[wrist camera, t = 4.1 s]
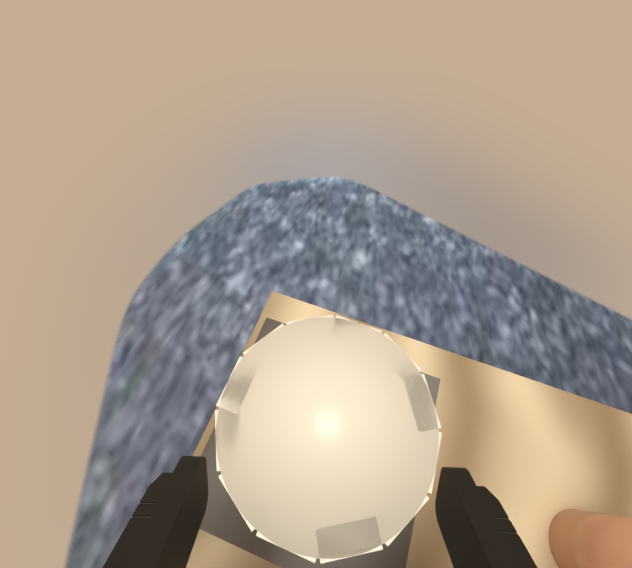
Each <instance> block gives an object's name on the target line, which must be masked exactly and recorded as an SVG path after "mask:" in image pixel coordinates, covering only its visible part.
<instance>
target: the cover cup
mask: <svg viewBox="0 0 632 568" xmlns="http://www.w3.org/2000/svg"><path fill="white" fill-rule="evenodd" d="M286 323H287V325H285V326H284V325H283V324H281V325H280V326H278V327H277V328H276V329H274V330H273V331H272V332H270V333H269V334H268V335H266V336H265V337H264V338H262V339H261V340H260V341H258V342H257V343H256V344H254V345H253V346H251V347H250V348H249V349H247V350H246V351H245V352H243V354H244V357H241V356H240V357H239V359H238V361H237V363H236V366H235V368H234V370H233V372H232V374H231V376H230V378H229V380H228V382H227V384H226V386H225V388H224V390H223V392H222V394H221V396H220V398H219V400H218V402H217V404H216V406H217V407H219V409H218V410H215V431H216V467H217V471H221V474H220V475H219V476H218V477H219V479H220V480H221V482H222V484H223V485H224V487H225V489H226V490H227V492H228V494H229V495H230V497H231V499H232V500H233V502H234V504H235V505H236V507H237V508H238V510H239V512H240V513H241V515H242V517H243V518H244V520H245V522H246V523H247V525H248V527H249V528H250V530H251V532H252V531H253V530H254V529H256V530H257V534H256V536H258V537H260V538H262V539H264V540H266V541H268V542H270V543H273V544H275V545H277V546H279V547H281V548H283V549H286V550H288V551H290V552H292V553H294V554H296V555H298V556H301V557H303V558H305V559H307V560H309V561H311V562H314V563H315V561H316V558H318V559H320V564H322V563H326V562H330V561H335V560H339V559H344V558H348V557H352V556H357V555H361V554H366V553H370V552H374V551H379V550H383V547H382V544H386V545H387V546H389V545H390V543H391V542H392V541H393V540H394V539H395V538H396V537H397V535H398V534H399V533H400V532H401V531H402V530H403V528H404V527H405V526H406V525H407V524H408V523H409V522H410V520H411V519H412V518H413V517H414V516H415V515H416V513H417V512H418V511H419V510H420V509H421V508H422V507H423V505H424V504H425V503H426V502H427V501H428V500H429V497H428V496H427V493H431V494H432V489H433V483H434V477H435V471H436V465H437V459H438V453H439V447H440V441H441V436H442V433H441V432H438V429H439V428H441V425H440V422H439V419H438V415H437V412H436V409H435V406H434V403H433V400H432V397H431V394H430V391H429V388H428V385H427V382H426V379H425V375H424V374H420V371H421V369H420V368H419V367H418V366H417V365H416V364H415V363H414V362H413V361H412V360H411V358H410V357H409V356H408V355H407V354H406V353H405V352H404V351H403V350H402V349H401V348H400V347H399V346H398V345H397V344H396V343H395V342H394V341H393V340H392V339H391V338H390V337H389V336H388V335H387V334H386V333H385V334H384V335H383V334H381V332H382V331H381V330H379V329H376V328H373V327H370V326H367V325H364V324H361V323H358V322H355V321H352V320H349V319H346V318H344V317H341V316H338V315H337V316H336V318H333V315H328V316H322V317H315V318H309V319H302V320H296V321H289V322H286Z"/></svg>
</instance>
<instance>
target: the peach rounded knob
mask: <svg viewBox="0 0 632 568" xmlns="http://www.w3.org/2000/svg"><path fill="white" fill-rule="evenodd" d="M548 537H549V546H550V550H551V553H552V556H553V558H554V560H555V562H556V564H557V566H558V567H559V568H632V518H631V517H625V516H618V515H611V514H605V513H598V512H592V511H585V510H579V509H565V510H562V511H560V512H558V513H557V514H556V515H555V516H554V517H553V519H552V521H551V523H550V526H549V533H548Z"/></svg>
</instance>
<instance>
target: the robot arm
mask: <svg viewBox="0 0 632 568" xmlns="http://www.w3.org/2000/svg"><path fill="white" fill-rule="evenodd" d="M207 502H208V477H207V461H206V457H202V456H182V457H181V458H180V460H179V462H178V464H177V466H176V468H175V470H174V472H173V473H162V474H161V475H160V476H159V477H158V478H157V479H156V480H155V481H154V482H153V483H152V484H151V485H150V486H149V487H148V489H147V491H146V492H145V494H144V496H143V498H142V499H141V501H140V505H138V506H137V508H136V510H135V512H134V513H133V517H132V518H131V519H130V521H129V522H128V524H127V526H126V528H125V529H124V531H123V533H122V535H121V536H120V538H119V540H118V542H117V543H116V545H115V547H114V549H113V551H112V552H111V554H110V556H109V558H108V559H107V561H106V563H105V565H104V566H103V568H186V566H187V563H188V560H189V557H190V554H191V551H192V549H193V546H194V543H195V540H196V537H197V534H198V531H199V529H200V526H201V523H202V520H203V517H204V514H205V511H206V507H207ZM435 511H436V518H437V522H438V525H439V528H440V531H441V533H442V536H443V539H444V542H445V545H446V548H447V550H448V553H449V556H450V559H451V562H452V565H453V567H454V568H537V566H536V564H535V562H534V561H533V559H532V557H531V555H530V554H529V552H528V550H527V548H526V547H525V545H524V543H523V541H522V540H521V538H520V536H519V535H517V531H516V529H515V527H514V526H513V524H512V522H511V521H510V520H509V517H508V515H507V513H506V512H505V510H504V508H503V506H502V505H501V503H500V501H499V500H498V499H497V498H496V497H495V496H494V495H493V494H492V493H491V492H490V491H489V490H488V489H487V488H486V487H485V486H476V484H475V482H474V480H473V478H472V476H471V474H470V472H469V471H468V470H467V469H466V468H460V467H442V469H441V472H440V478H439V483H438V489H437V495H436V500H435Z"/></svg>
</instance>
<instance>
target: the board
mask: <svg viewBox="0 0 632 568" xmlns="http://www.w3.org/2000/svg"><path fill="white" fill-rule="evenodd" d="M328 315H333V318H336V316H337V315H338V316H341V317H344V318H346V319H349V320H352V321H355V322H358V323H361V324H364V325H367V326H370V327H373V328H376V329H379V330H381V331H382V332H381V334H383V335H384V334H385V333H386V334H387V335H388V336H389V337H390V338H391V339H392V340H393V341H394V342H395V343H396V344H397V345H398V346H399V347H400V348H401V349H402V350H403V351H404V352H405V353H406V354H407V355H408V356H409V357H410V358H411V360H412V361H413V362H414V363H415V364H416V365H417V366H418V367H419V368H420V369H421V371H420V374H424V375H425V379H426V382H427V385H428V388H429V391H430V394H431V397H432V400H433V403H434V406H435V409H436V412H437V415H438V419H439V422H440V425H441V428H439V429H438V432H441V433H442V436H441V441H440V447H439V453H438V459H437V465H436V471H435V477H434V483H433V489H432V494H431V493H427V496H428V497H429V500H428V501H427V502H426V503H425V504H424V505H423V507H422V508H421V509H420V510H419V511H418V512H417V513H416V515H415V516H414V517H413V518H412V519H411V520H410V522H409V523H408V524H407V525H406V526H405V527H404V528H403V530H402V531H401V532H400V533H399V534H398V535H397V537H396V538H395V539H394V540H393V541H392V542H391V543H390V545H389V546H387V545H386V544H382V547H383V550H379V551H374V552H370V553H366V554H361V555H357V556H352V557H348V558H344V559H339V560H335V561H330V562H326V563H322V564H320V559H318V558H316V561H315V563H314V562H311V561H309V560H307V559H305V558H303V557H301V556H298V555H296V554H294V553H292V552H290V551H288V550H286V549H283V548H281V547H279V546H277V545H275V544H273V543H270V542H268V541H266V540H264V539H262V538H260V537H258V536H256V534H257V530H256V529H254V530H253V531H252V532H251V530H250V528H249V527H248V525H247V523H246V522H245V520H244V518H243V517H242V515H241V513H240V512H239V510H238V508H237V507H236V505H235V504H234V502H233V500H232V499H231V497H230V495H229V494H228V492H227V490H226V489H225V487H224V485H223V484H222V482H221V480H220V479H219V477H218V476H219V475H220V474H221V471H217V467H216V431H215V411H214V413H213V415H212V417H211V419H210V421H209V423H208V425H207V427H206V430H205V432H204V434H203V436H202V438H201V440H200V442H199V444H198V446H197V448H196V450H195V452H194V454H193V456H202V457H206V461H207V477H208V502H207V507H206V511H205V514H204V517H203V520H202V523H201V526H200V529H199V531H198V534H197V537H196V540H195V543H194V546H193V549H192V551H191V554H190V557H189V560H188V563H187V566H186V568H454V567H453V565H452V562H451V559H450V556H449V553H448V550H447V548H446V545H445V542H444V539H443V536H442V533H441V531H440V528H439V525H438V522H437V518H436V511H435V500H436V495H437V489H438V483H439V478H440V472H441V469H442V467H460V468H466V469H467V470H468V471H469V472H470V474H471V476H472V478H473V480H474V482H475V484H476V486H485V487H486V488H487V489H488V490H489V491H490V492H491V493H492V494H493V495H494V496H495V497H496V498H497V499H498V500H499V501H500V503H501V505H502V506H503V508H504V510H505V512H506V513H507V515H508V517H509V520H510V521H511V522H512V524H513V526H514V527H515V529H516V531H517V535H519V536H520V538H521V540H522V541H523V543H524V545H525V547H526V548H527V550H528V552H529V554H530V555H531V557H532V559H533V561H534V562H535V564H536V566H537V568H559V567H558V566H557V564H556V562H555V560H554V558H553V556H552V553H551V550H550V546H549V537H548V533H549V526H550V523H551V521H552V519H553V517H554V516H555V515H556V514H557V513H558V512H560V511H562V510H565V509H579V510H585V511H592V512H598V513H605V514H611V515H618V516H625V517H631V518H632V414H630V413H627V412H624V411H621V410H618V409H616V408H613V407H610V406H607V405H604V404H601V403H598V402H595V401H592V400H589V399H586V398H583V397H580V396H578V395H575V394H572V393H569V392H566V391H563V390H560V389H557V388H554V387H551V386H548V385H545V384H542V383H539V382H537V381H534V380H531V379H528V378H525V377H522V376H519V375H516V374H513V373H510V372H507V371H504V370H501V369H499V368H496V367H493V366H490V365H487V364H484V363H481V362H478V361H475V360H472V359H469V358H466V357H463V356H461V355H458V354H455V353H452V352H449V351H446V350H443V349H440V348H437V347H434V346H431V345H428V344H425V343H423V342H420V341H417V340H414V339H411V338H408V337H405V336H402V335H399V334H396V333H393V332H390V331H387V330H384V329H382V328H379V327H376V326H373V325H370V324H367V323H364V322H361V321H358V320H355V319H352V318H349V317H346V316H344V315H341V314H338V313H335V312H332V311H329V310H326V309H323V308H320V307H317V306H314V305H311V304H308V303H306V302H303V301H300V300H297V299H294V298H291V297H288V296H285V295H282V294H279V293H276V292H272V294H271V296H270V298H269V300H268V302H267V304H266V306H265V308H264V310H263V312H262V314H261V316H260V318H259V321H258V323H257V325H256V327H255V329H254V331H253V333H252V335H251V337H250V339H249V341H248V343H247V345H246V347H245V349H244V351H243V352H245V351H246V350H247V349H249V348H250V347H251V346H253V345H254V344H256V343H257V342H258V341H260V340H261V339H262V338H264V337H265V336H266V335H268V334H269V333H270V332H272V331H273V330H274V329H276V328H277V327H278V326H280V325H281V324H283V325H284V326H285V325H287V323H286V322H289V321H296V320H302V319H309V318H315V317H322V316H328ZM241 357H244V354H243V353H242V355H241ZM218 409H219V407H216V409H215V410H218Z"/></svg>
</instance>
